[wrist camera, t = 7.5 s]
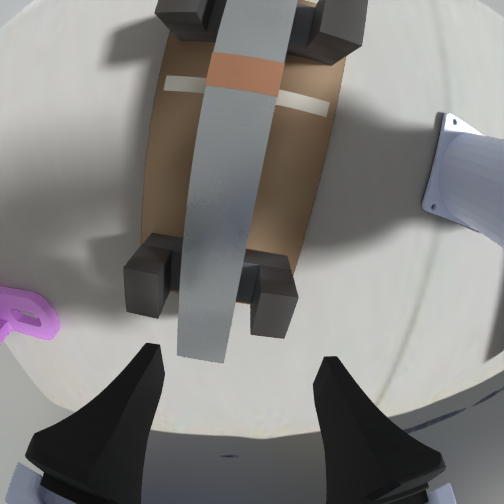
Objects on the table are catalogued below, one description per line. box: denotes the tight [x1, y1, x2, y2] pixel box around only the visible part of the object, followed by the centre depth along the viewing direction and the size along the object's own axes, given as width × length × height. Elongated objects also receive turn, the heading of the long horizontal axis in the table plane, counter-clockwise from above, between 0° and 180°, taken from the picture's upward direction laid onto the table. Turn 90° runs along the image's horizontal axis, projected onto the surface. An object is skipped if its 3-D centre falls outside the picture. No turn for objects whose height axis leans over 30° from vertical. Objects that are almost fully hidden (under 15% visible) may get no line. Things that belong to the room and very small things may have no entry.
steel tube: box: [177, 0, 298, 363], centre depth 13 cm, size 3×22×3 cm, turn 169°
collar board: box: [123, 0, 368, 339], centre depth 14 cm, size 11×22×6 cm, turn 169°
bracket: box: [0, 286, 60, 344], centre depth 19 cm, size 13×6×7 cm, turn 89°
